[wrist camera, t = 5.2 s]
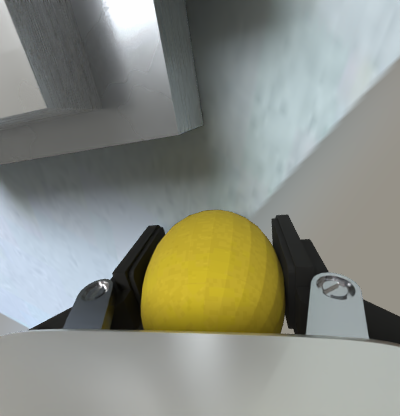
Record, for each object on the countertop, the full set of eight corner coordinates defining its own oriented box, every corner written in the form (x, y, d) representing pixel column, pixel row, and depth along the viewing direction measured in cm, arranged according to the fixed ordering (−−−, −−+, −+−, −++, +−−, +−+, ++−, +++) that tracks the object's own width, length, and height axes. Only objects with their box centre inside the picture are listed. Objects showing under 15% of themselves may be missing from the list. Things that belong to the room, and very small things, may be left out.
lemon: (221, 284, 14) (205, 459, 7) (156, 229, 13) (62, 368, 6) (290, 234, 12) (370, 415, 5) (219, 165, 11) (188, 264, 4)
